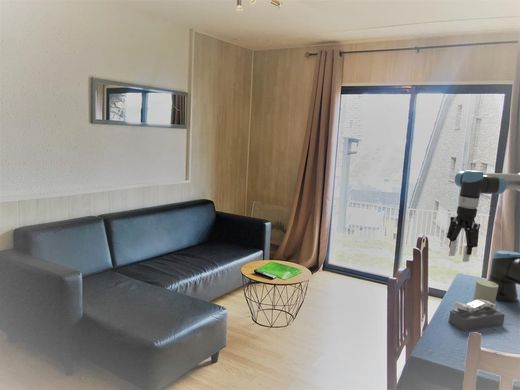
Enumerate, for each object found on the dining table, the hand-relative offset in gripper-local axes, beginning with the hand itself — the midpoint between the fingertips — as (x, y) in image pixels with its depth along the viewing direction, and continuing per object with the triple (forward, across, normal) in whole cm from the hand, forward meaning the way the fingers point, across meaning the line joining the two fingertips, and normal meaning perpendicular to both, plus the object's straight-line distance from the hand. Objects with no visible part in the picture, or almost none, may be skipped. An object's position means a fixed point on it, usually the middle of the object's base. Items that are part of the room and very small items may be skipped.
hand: (458, 258), depth 180 cm
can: (+25, -1, +22) cm, 33 cm away
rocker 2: (+18, +10, +3) cm, 20 cm away
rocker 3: (+18, +10, +10) cm, 23 cm away
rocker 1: (+18, +10, -4) cm, 21 cm away
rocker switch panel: (+25, +12, +3) cm, 28 cm away
